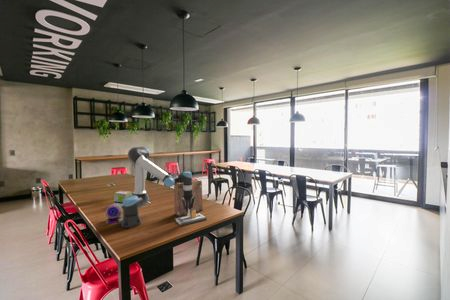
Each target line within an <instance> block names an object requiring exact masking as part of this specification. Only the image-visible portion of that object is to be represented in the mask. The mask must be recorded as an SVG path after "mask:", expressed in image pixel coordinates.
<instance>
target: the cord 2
mask: <svg viewBox="0 0 450 300" xmlns="http://www.w3.org/2000/svg"><path fill="white" fill-rule="evenodd" d="M204 221H207V217H205V218H202V219H198V220H194V221H190V222H186V223H181V225H180V226H181V227H184V226H187V225H192V224H196V223H200V222H204Z"/></svg>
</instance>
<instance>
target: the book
mask: <svg viewBox="0 0 450 300" xmlns="http://www.w3.org/2000/svg"><path fill="white" fill-rule="evenodd" d="M202 183H203V182H202V180H197V179H196V178H195V179H192V195H193V196H194V197H195V199H194V204H193V208H191V209H195V210H196V213H199V212H202V211H203V184H202ZM173 189H174V190H173V194H174V195H173V196H174V214H175V215H176V216H177V217H180V216H184V215H187V213H186V209H184V207H183V203H182V200H181V198H183V196H184V192H183V190H184V189H183V183H176V184H175V185H173ZM191 201H192V198H191ZM184 202H185V206H186V201H185V199H184ZM188 209H189V205H188Z"/></svg>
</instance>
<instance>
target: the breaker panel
mask: <svg viewBox="0 0 450 300" xmlns="http://www.w3.org/2000/svg"><path fill="white" fill-rule="evenodd" d="M198 213H199V212H198ZM202 218H206V216H204V215H203V214H201V213H199V214H196V217H194V218H191V217H188V216H185V217H181V218H176V220H175V221H176V223H178V225H180V226H181V223H186V222H190V221H194V220H198V219H202Z"/></svg>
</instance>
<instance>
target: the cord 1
mask: <svg viewBox="0 0 450 300" xmlns="http://www.w3.org/2000/svg"><path fill="white" fill-rule="evenodd" d="M196 214H199V212H196ZM185 216H187V215H183V216H176V217H174V218H173V219H174V221H176V218H181V217H185Z"/></svg>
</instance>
